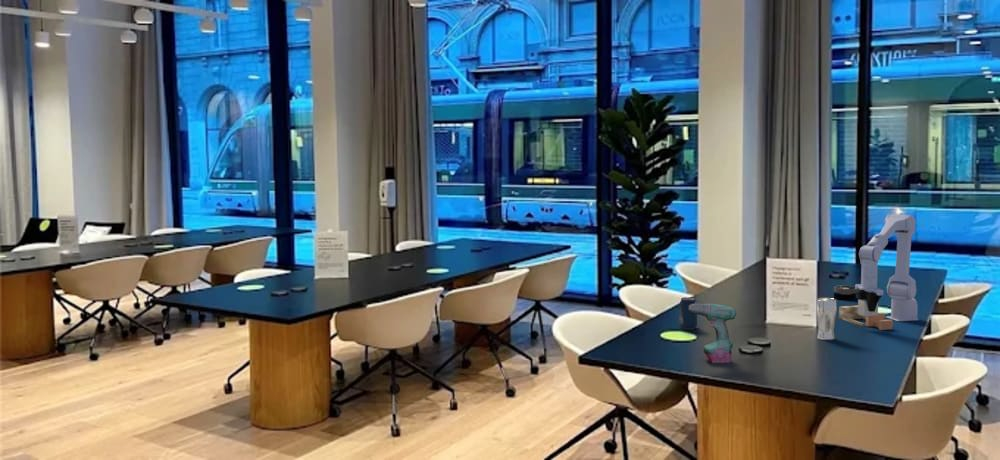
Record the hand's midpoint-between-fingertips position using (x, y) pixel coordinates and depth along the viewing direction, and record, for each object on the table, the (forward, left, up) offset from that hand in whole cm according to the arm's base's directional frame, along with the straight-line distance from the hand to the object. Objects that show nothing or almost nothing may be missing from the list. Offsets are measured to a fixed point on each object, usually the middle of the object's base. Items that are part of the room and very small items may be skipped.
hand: (868, 310), depth 315 cm
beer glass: (+25, +10, -8) cm, 27 cm away
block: (0, 0, -2) cm, 2 cm away
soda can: (+67, -20, -8) cm, 70 cm away
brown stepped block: (-6, -1, -7) cm, 9 cm away
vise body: (-6, -12, -7) cm, 15 cm away
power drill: (+80, +28, -8) cm, 85 cm away
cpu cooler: (-29, -58, -8) cm, 65 cm away
